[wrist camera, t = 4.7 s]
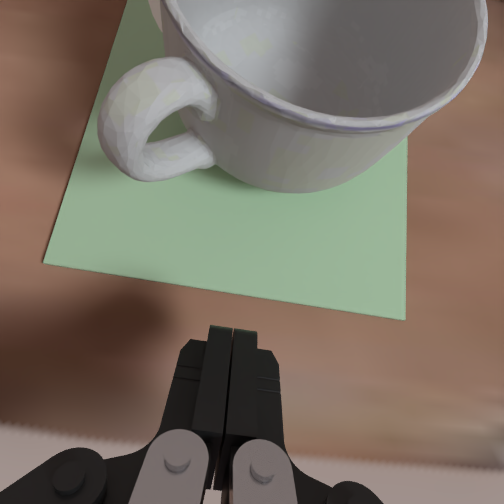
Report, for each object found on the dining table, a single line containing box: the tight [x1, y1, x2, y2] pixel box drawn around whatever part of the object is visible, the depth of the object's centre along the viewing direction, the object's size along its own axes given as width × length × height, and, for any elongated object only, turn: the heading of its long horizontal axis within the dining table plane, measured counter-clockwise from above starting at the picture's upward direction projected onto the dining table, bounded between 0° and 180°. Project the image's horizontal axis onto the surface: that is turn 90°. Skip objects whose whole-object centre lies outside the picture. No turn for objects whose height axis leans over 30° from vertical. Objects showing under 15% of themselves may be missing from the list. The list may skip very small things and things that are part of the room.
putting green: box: [43, 0, 407, 321], centre depth 18 cm, size 16×27×2 cm, turn 172°
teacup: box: [97, 0, 488, 194], centre depth 14 cm, size 14×11×8 cm
